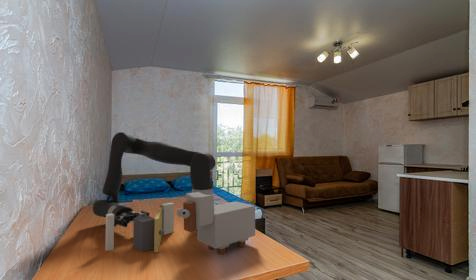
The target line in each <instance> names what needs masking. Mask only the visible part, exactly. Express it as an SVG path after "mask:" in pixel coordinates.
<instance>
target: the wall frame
mask: <svg viewBox="0 0 476 280" xmlns="http://www.w3.org/2000/svg"><path fill="white" fill-rule="evenodd" d="M161 207H162V230H164V234H163V235H162V236H165V235H168V234H169V235H170V234H172V233H174V232H175V231H174V230H175V228H174V227H175V226H174V225H175V224H174V223H175V221H174V220H175V219H174V218H175V215H174V214H175V203H174V202H169V203H168V202H167V203H163V204H159V207H158V209H159V208H161ZM104 241H105V243H104V245H105V246H104V247H105V248H104V249H105V251H106V252H110V251H113V250H115V249H114V246H115V245H114V244H115V243H114V242H115V227H114V214H107V215H106V217H105V240H104Z"/></svg>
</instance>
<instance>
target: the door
mask: <svg viewBox="0 0 476 280" xmlns="http://www.w3.org/2000/svg"><path fill="white" fill-rule="evenodd" d="M154 218H155V229H154V248H153V249H154V250H153V253H155V254H156V253H158V252H159V250H160V245H161V241H162V236H164V235H163V234H164V230H162V207H161V208H159V207H158V210H157V212H156V215H155V217H154Z"/></svg>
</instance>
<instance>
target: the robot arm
mask: <svg viewBox="0 0 476 280" xmlns="http://www.w3.org/2000/svg"><path fill="white" fill-rule="evenodd" d="M109 153H110V154H109V160H108V168H107V173H106V178H105V181H104V183H103V188H102V190H101V191H102V194H103V195H105V196H109V197H110V199H109V200H108V199H97V200H96V201H95V202H94V204H93V206H92V213H93V214H94V215H95V216H97V217H102V218H106V215H107V214H114V228H116V227H117V226H119V227H124V228H127V227H128V224H130V223H132V222H133V223H134V218H136V217H141V216H146V215H147V216H150V215H151V214H150V212H148V211H145V210H140V211H134V210H133V208H132V207H130V206H127V205H125V204H122V203H120V202H119V196H120V194H119V192H120V189H121V185H122V182H123V169H122V168H123V167H122V161H123V160H122V159H123V155H124V154H133V155H138V156H144V157H146V158H148V159H150V160H153V161H156V162H159V163H164V164H167V165H177V166H179V165H180V166H186V167H189V172H190V173H189V174H190V175H189V176H190V182H191V189H192V190H191V193H194V192H200V193H202V194H205V195H213V196H214V183H213V181H212V180H211V172H212V170H213V169H214V168H215V167H216V164H217V163H216V159H215V157H214V156H213V155H212V154H211V153H208V152H201V151H195V150H194V151H193V150H189V149H185V148H183V147H180V146H177V145H173V144H170V143H167V142H162V141H148V140H144V139H141V138H138V137H136V136H134V135H131V134H130V133H127V132H122V131H120V132H118V133H115V134H114V135H113V137H112V140H111V144H110V151H109ZM196 231H197V226H196Z"/></svg>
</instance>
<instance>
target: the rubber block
mask: <svg viewBox="0 0 476 280" xmlns="http://www.w3.org/2000/svg"><path fill="white" fill-rule="evenodd" d="M154 229H155V217H153V216H150V215H149V216H147V215H146V216H141V217H136V218H134V221H133V237H132V238H133V239H132V242H133V243H132V245H133V246H132V247H134V248H135V249H137V250H138V251H140V252H145V251H149V250H153V249H154Z"/></svg>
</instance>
